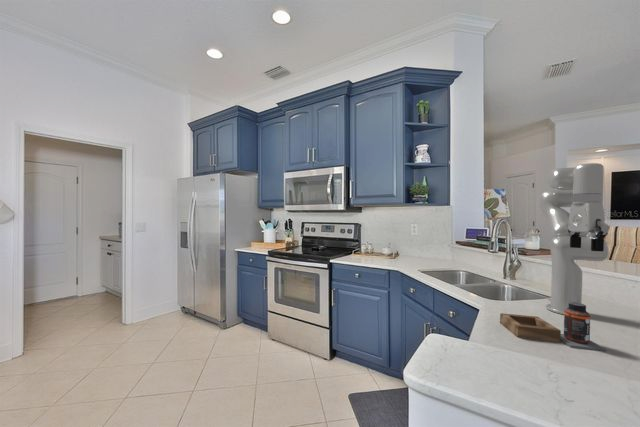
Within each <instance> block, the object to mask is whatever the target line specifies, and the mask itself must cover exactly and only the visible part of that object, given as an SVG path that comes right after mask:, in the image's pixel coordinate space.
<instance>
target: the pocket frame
mask: <svg viewBox="0 0 640 427" xmlns="http://www.w3.org/2000/svg"><path fill="white" fill-rule="evenodd" d="M499 315H500V317H499V323H500V324H501V325H502V326H503V327H504V328H506V329H507V330H508V331H509V332H510V333H511V334H513V335H514V336H516V338H522V339H532V340H540V341H541V340H542V341H547V342H548V341H550V342H559V343H560V342H561V341H560V339H561V334H562V330H561V329H559V328H557V327H555V326H554V325H552V324H550V323H549V322H548V321H545V320H544V319H542V318H540V317H539V316H535V315H534V316H533V315H524V314H512V313H511V314H510V313H503V312H502V313H501V312H500V314H499Z"/></svg>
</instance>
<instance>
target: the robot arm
mask: <svg viewBox="0 0 640 427" xmlns="http://www.w3.org/2000/svg"><path fill="white" fill-rule="evenodd" d="M604 173H605V168H604V165H603V164H602V163H596V162H595V163H594V162H591V163H581V164H578V165H575V166H574V167H558V168H554V169H551V171H550V172H549V174H548V177H547V181H548V186H549V188H550V189H549V190H545V191H543V192H542V193H541V194H540V195H539V199H538V200H539V201H538V202H539V207H540V210H541V212H542V213H543V216H545V217H546V219H547V221H548V226H549V229H550V230H549V231H550V234H551V236H552V238H551V240H550V242H549V250H550V258H551V286H550V287H551V288H550V289H551V290H550V291H551V292H550V297H548V299H547V300H548V301H550V304H549V303H548V304H546V305H545V308H546V309H547V310H549V311H550V312H553V313H556V314H560V315H563V316H564V310H565V309H566V308H568V307H569V306H568V305H569V302H576V303H581V304H583V303H582V301H583V298H582V297H583V295H582V294H583V271H582V267H580V266H579V265H578V264H577V263H576V262H575V261H586V262H587V261H588V262H589V261H590V262H604V261H605V260H607V259H608V257H609V252H610V251H609V246H608V243H607V241H606V238H607V237H606V236H608V232H609V230H610V228H611V226H610V225H609V224H607V223H606V221H605V208H604V175H605V174H604ZM564 208H570V210H569V212H568V211H567V210H565V209H564Z"/></svg>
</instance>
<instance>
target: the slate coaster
mask: <svg viewBox="0 0 640 427" xmlns="http://www.w3.org/2000/svg"><path fill="white" fill-rule="evenodd" d="M560 342H562V344H564V345H566V346H567V347H569V348H575V349H585V350H591V351H600V352H601V351H602V352H606V351H607V349H606V348H604V347H603V346H602V345H599V344H598V343H596V342H594V341H593V340H589V343H587V344H584V343H578V342H573V341H571V340H568V339H567V338H565V337H564V333H561V339H560Z"/></svg>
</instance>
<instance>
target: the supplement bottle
mask: <svg viewBox="0 0 640 427" xmlns="http://www.w3.org/2000/svg"><path fill="white" fill-rule="evenodd" d="M568 306H569V307H568V308H566V309H565V310H564V315H563V334H564V337H565V338H567V339H568V340H571V341H573V342H578V343H584V344H587V343H589V340H590V338H591V337H590V335H591V314H590V313H589V312H588V311H587V305H586V304H584V303H582V304H581V303H576V302H569V305H568Z"/></svg>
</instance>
